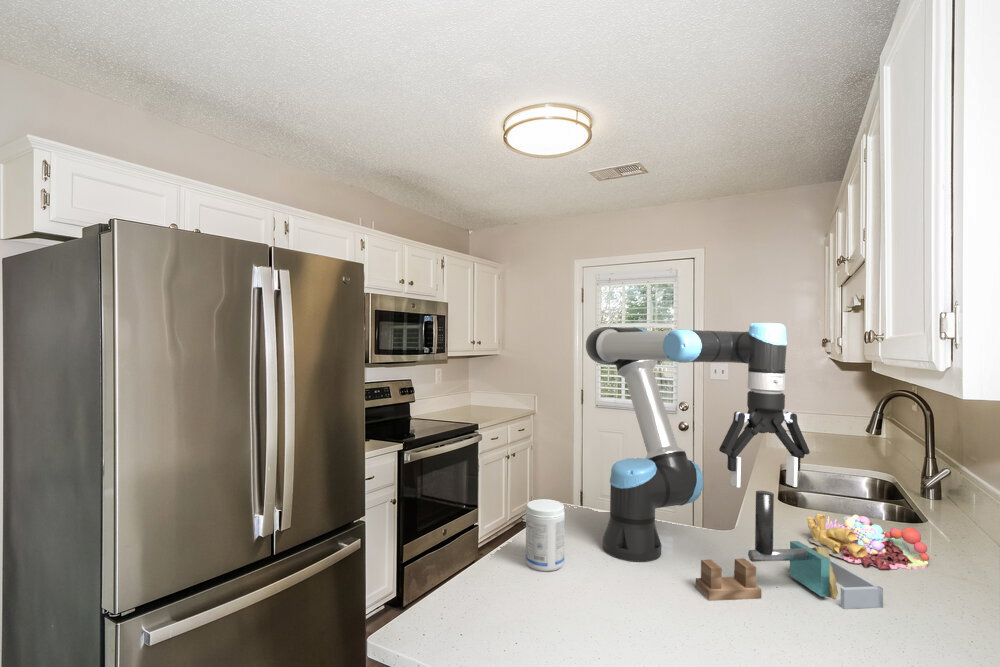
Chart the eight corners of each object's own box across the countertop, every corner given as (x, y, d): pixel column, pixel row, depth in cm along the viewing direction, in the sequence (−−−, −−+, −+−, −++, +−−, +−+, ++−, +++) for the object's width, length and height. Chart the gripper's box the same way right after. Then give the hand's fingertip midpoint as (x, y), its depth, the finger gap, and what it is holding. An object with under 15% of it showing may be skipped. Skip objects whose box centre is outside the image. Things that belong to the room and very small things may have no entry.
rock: (812, 562, 126) (788, 564, 121) (836, 542, 122) (812, 543, 117) (846, 604, 118) (821, 608, 114) (872, 584, 114) (848, 587, 110)
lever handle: (764, 598, 110) (766, 500, 110) (738, 576, 120) (739, 486, 120) (829, 596, 111) (830, 499, 112) (797, 575, 121) (798, 486, 122)
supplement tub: (553, 554, 133) (554, 497, 133) (571, 569, 124) (572, 508, 124) (519, 558, 129) (520, 500, 130) (534, 575, 120) (535, 512, 121)
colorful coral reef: (865, 575, 125) (865, 537, 125) (790, 538, 148) (790, 506, 148) (945, 567, 130) (945, 531, 130) (861, 533, 153) (861, 502, 153)
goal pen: (844, 609, 108) (844, 589, 108) (789, 572, 125) (789, 555, 125) (882, 607, 109) (883, 588, 109) (823, 571, 126) (823, 555, 126)
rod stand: (709, 600, 110) (709, 570, 110) (695, 587, 116) (695, 558, 116) (761, 598, 112) (761, 568, 112) (745, 585, 118) (745, 556, 118)
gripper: (722, 392, 111) (720, 490, 111) (829, 394, 113) (826, 489, 113) (705, 388, 118) (702, 480, 118) (805, 390, 121) (802, 480, 121)
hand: (763, 485), depth 116 cm, fingers open, 13 cm apart
